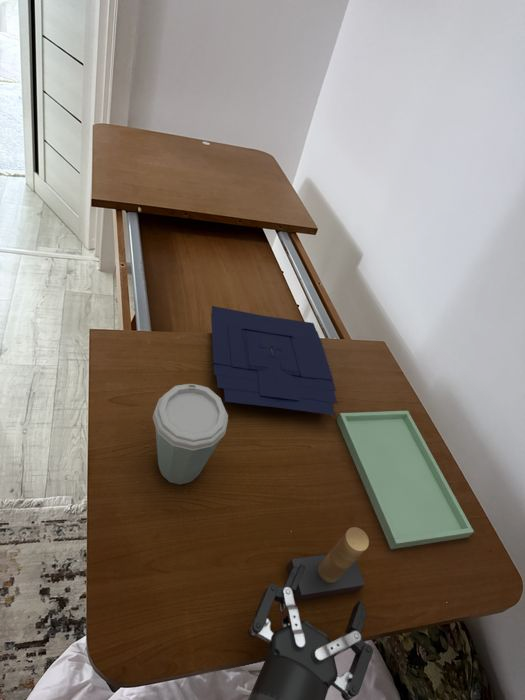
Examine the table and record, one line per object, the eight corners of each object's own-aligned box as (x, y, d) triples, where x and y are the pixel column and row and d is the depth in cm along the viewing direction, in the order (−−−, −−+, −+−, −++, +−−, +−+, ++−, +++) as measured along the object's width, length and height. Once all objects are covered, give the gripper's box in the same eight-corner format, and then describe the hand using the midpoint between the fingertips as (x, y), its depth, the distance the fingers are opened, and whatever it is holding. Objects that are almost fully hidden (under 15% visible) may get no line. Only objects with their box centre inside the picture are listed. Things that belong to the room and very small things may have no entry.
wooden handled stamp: (358, 591, 74) (398, 553, 65) (295, 601, 70) (329, 562, 62) (346, 557, 77) (383, 517, 68) (286, 566, 73) (316, 524, 65)
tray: (467, 537, 86) (474, 531, 84) (390, 549, 80) (396, 543, 79) (403, 416, 103) (408, 410, 101) (335, 419, 97) (340, 412, 95)
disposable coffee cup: (212, 498, 78) (235, 442, 68) (141, 497, 75) (154, 439, 65) (208, 440, 85) (227, 382, 75) (143, 438, 82) (154, 377, 72)
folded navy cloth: (211, 411, 88) (215, 396, 86) (208, 315, 112) (211, 302, 110) (339, 426, 94) (346, 412, 92) (310, 332, 118) (315, 319, 115)
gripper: (215, 688, 57) (274, 567, 69) (325, 765, 55) (367, 626, 67) (230, 669, 52) (291, 542, 64) (352, 754, 50) (392, 606, 62)
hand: (330, 585), depth 65 cm, fingers open, 8 cm apart
